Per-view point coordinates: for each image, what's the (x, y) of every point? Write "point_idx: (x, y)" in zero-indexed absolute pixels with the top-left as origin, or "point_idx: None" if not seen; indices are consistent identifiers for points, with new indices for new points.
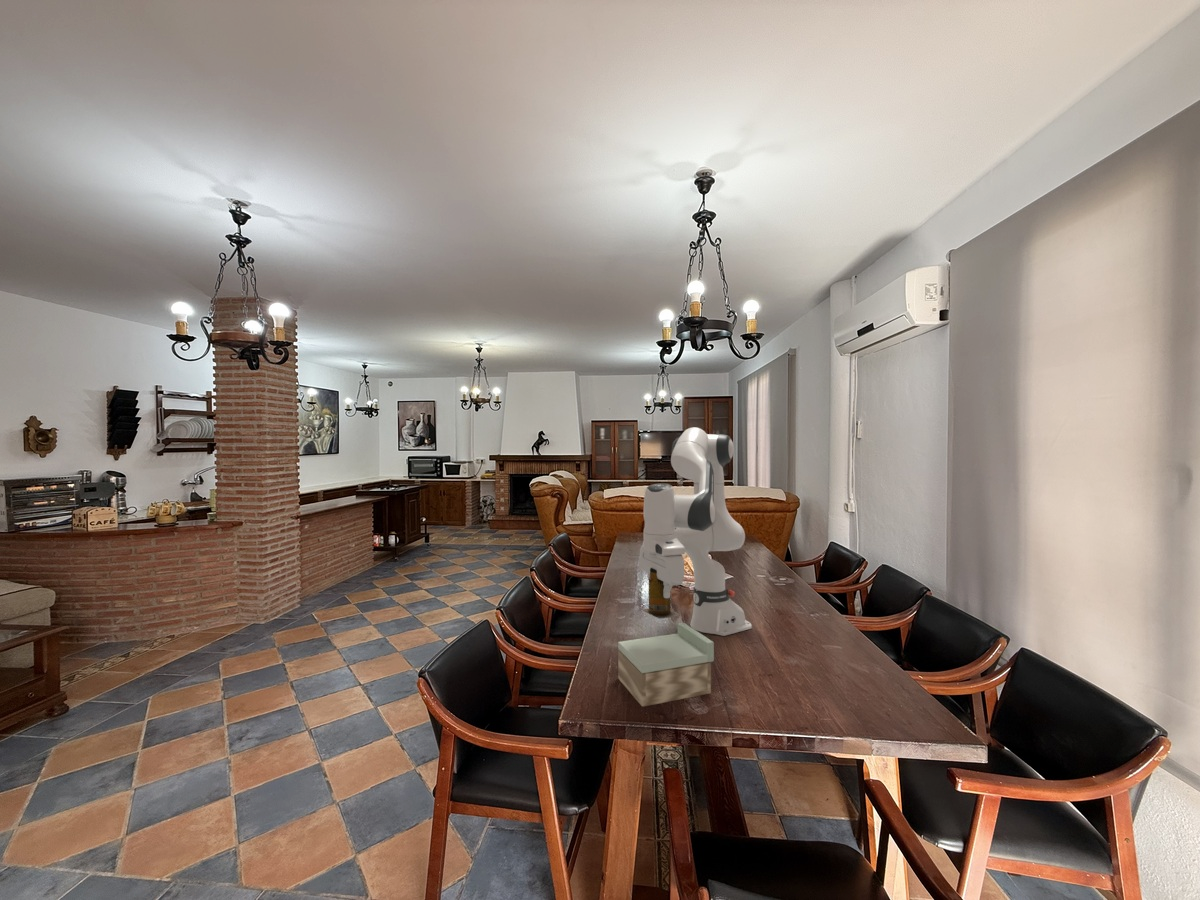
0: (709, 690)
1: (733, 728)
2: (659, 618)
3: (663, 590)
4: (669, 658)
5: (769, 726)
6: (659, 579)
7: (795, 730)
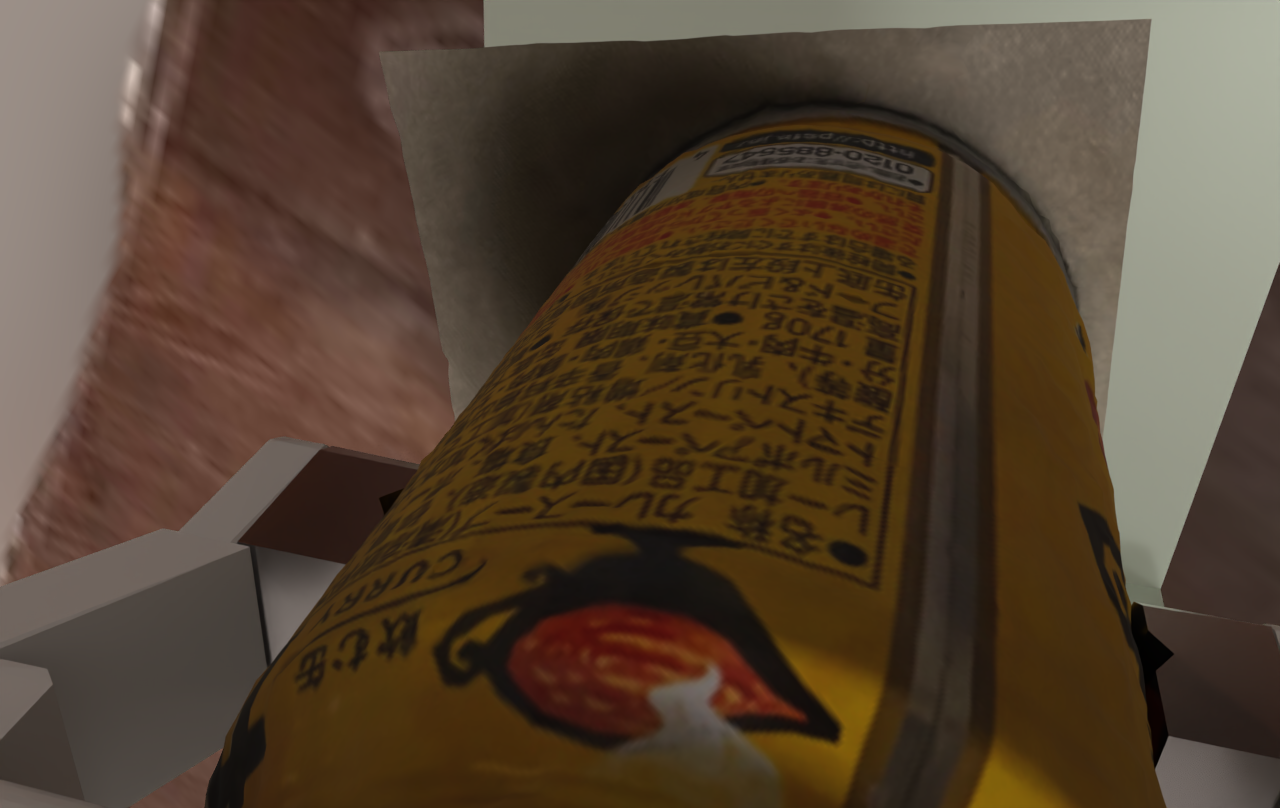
0: None
1: (152, 138)
2: (398, 65)
3: (207, 552)
4: (543, 39)
5: (136, 348)
6: (84, 801)
7: (80, 434)
